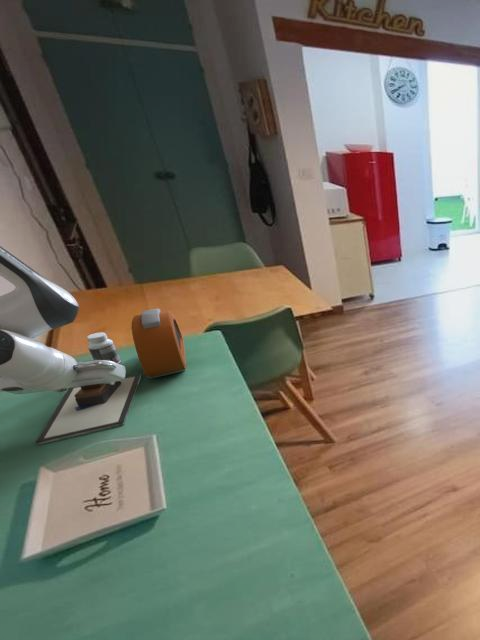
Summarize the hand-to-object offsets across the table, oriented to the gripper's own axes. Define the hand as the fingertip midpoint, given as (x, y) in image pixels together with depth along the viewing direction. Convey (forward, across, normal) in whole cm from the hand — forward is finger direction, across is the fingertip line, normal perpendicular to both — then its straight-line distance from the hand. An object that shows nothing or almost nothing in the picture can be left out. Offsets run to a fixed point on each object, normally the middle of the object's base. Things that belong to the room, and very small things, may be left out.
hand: (87, 385), depth 104 cm
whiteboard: (+3, 0, +5) cm, 6 cm away
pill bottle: (+20, +5, -12) cm, 24 cm away
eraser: (+6, 0, +1) cm, 6 cm away
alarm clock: (+17, -10, -9) cm, 22 cm away
